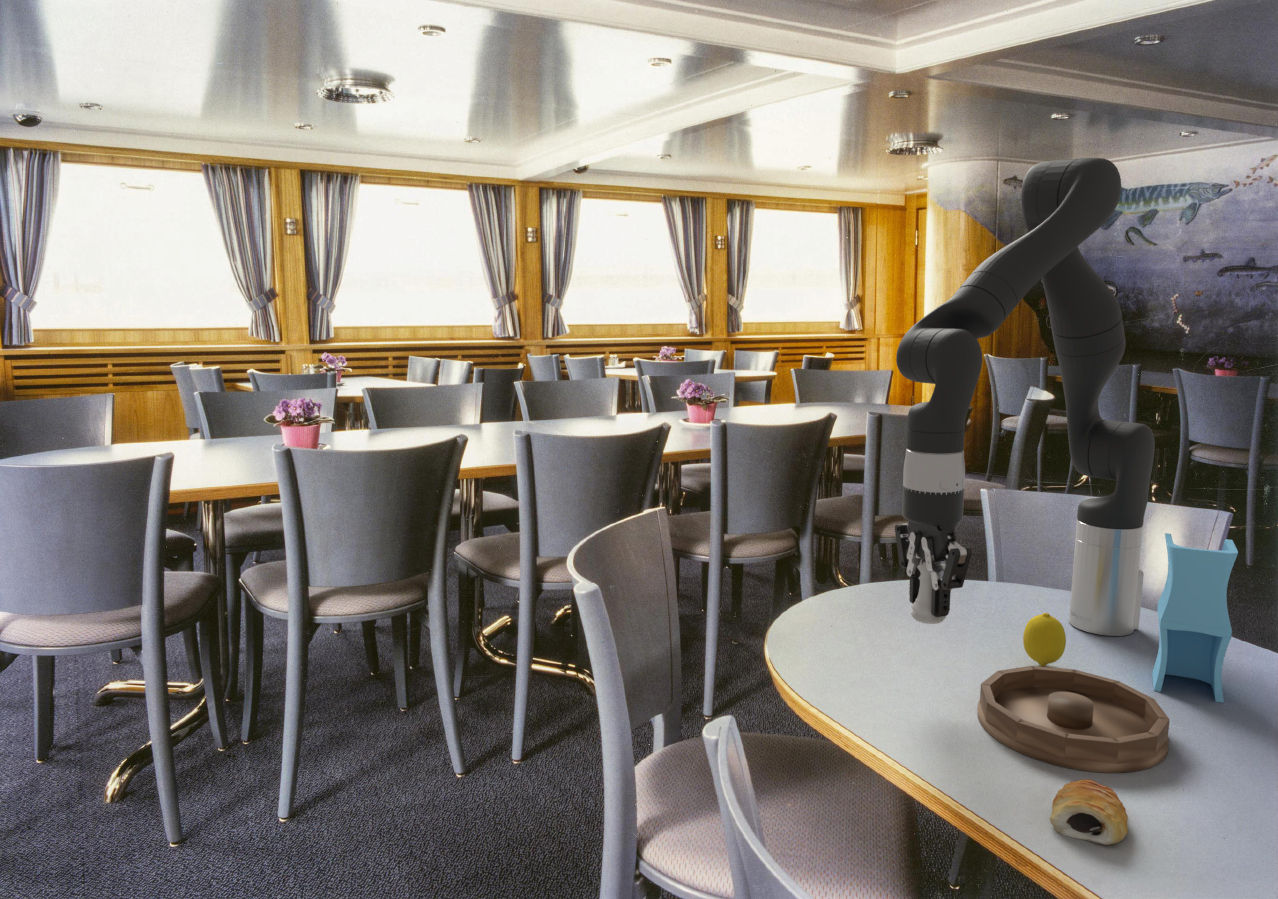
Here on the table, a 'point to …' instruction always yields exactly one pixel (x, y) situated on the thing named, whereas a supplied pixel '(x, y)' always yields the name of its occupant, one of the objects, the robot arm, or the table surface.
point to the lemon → (1044, 639)
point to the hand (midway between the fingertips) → (928, 608)
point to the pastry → (1089, 813)
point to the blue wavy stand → (1194, 615)
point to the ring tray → (1074, 748)
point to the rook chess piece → (925, 597)
